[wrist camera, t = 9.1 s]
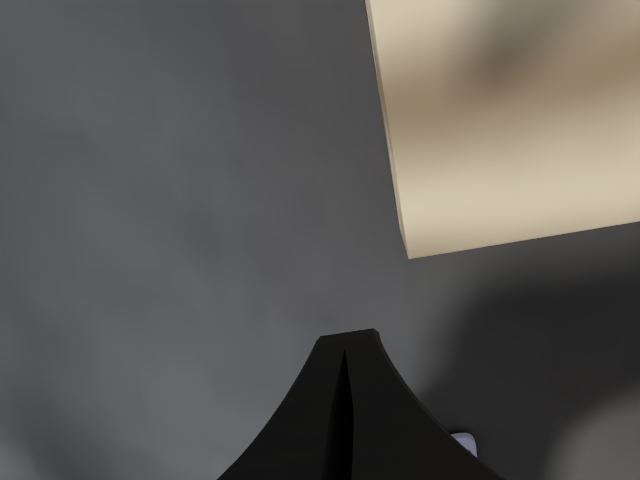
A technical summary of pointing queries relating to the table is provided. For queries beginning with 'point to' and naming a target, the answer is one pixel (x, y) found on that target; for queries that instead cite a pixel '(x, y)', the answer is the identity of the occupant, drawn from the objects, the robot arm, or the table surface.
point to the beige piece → (508, 117)
